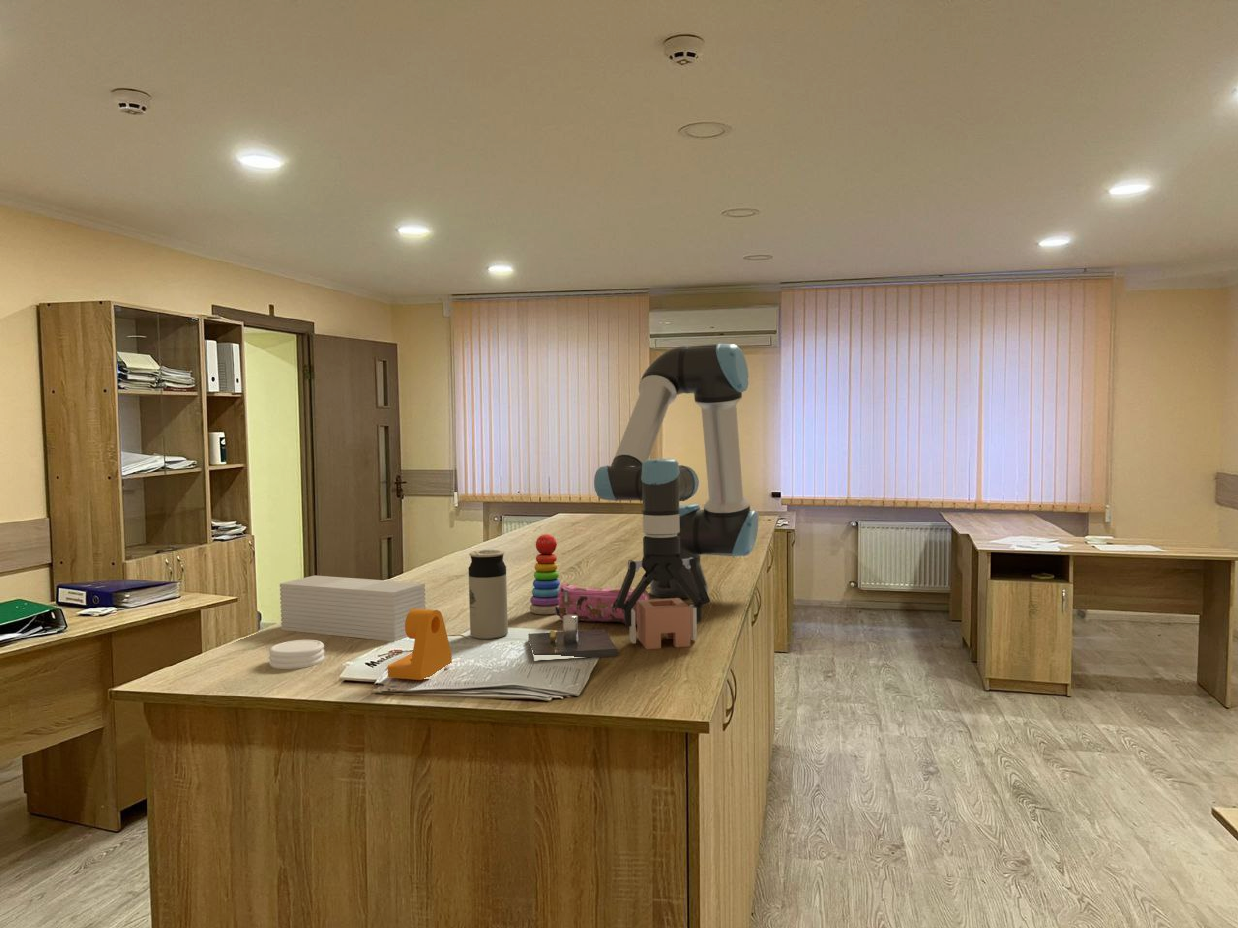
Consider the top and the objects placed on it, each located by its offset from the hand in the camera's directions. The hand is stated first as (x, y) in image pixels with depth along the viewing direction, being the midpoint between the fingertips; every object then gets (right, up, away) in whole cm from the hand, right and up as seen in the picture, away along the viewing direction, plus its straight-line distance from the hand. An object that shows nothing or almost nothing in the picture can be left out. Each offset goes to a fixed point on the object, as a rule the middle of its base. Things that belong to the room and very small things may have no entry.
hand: (663, 639), depth 173 cm
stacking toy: (-27, 0, +31) cm, 41 cm away
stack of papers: (-69, -2, +17) cm, 71 cm away
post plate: (-19, -1, -3) cm, 19 cm away
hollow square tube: (0, 0, 0) cm, 0 cm away
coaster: (-71, -3, -9) cm, 72 cm away
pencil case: (-12, 0, +19) cm, 23 cm away
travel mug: (-37, -1, +9) cm, 38 cm away
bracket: (-45, -3, -19) cm, 49 cm away
